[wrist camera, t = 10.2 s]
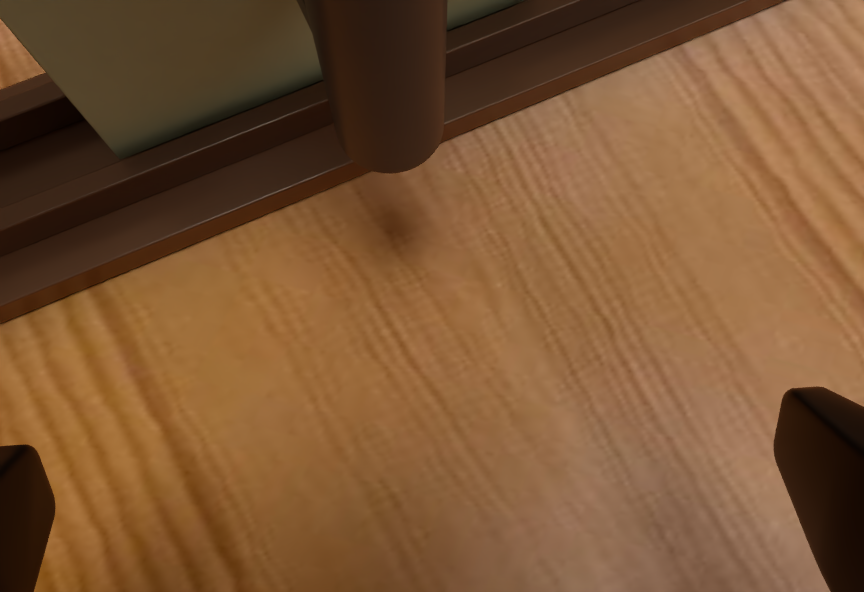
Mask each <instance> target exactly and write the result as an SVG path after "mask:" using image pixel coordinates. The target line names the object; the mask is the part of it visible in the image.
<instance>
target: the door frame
mask: <svg viewBox="0 0 864 592" xmlns="http://www.w3.org/2000/svg"><path fill="white" fill-rule="evenodd" d="M782 1H785V0H525V1H522V2H520V3H517V4H515V5H512V6H510V7H507V8H504V9H502V10H499V11H497V12H494V13H492V14H489V15H487V16H484V17H482V18H479V19H477V20H474V21H471V22H469V23H466V24H464V25H461V26H459V27H456V28H454V29H451V30H449V31H447V37H446V71H445V104H444V130H443V135H442V138H441V141H440V142H442V141H445V140H447V139H449V138H452V137H454V136H457V135H459V134H462V133H464V132H466V131H469V130H471V129H474V128H476V127H479V126H481V125H483V124H486V123H488V122H491V121H493V120H496V119H498V118H501V117H503V116H505V115H508V114H510V113H513V112H515V111H518V110H520V109H522V108H525V107H527V106H530V105H532V104H535V103H537V102H539V101H542V100H544V99H547V98H549V97H552V96H554V95H556V94H559V93H561V92H564V91H566V90H569V89H571V88H573V87H576V86H578V85H581V84H583V83H586V82H588V81H590V80H593V79H595V78H598V77H600V76H603V75H605V74H607V73H610V72H612V71H615V70H617V69H620V68H622V67H624V66H627V65H629V64H632V63H634V62H637V61H639V60H641V59H644V58H646V57H649V56H651V55H654V54H656V53H659V52H661V51H663V50H666V49H668V48H671V47H673V46H676V45H678V44H680V43H683V42H685V41H688V40H690V39H693V38H695V37H697V36H700V35H702V34H705V33H707V32H710V31H712V30H714V29H717V28H719V27H722V26H724V25H727V24H729V23H731V22H734V21H736V20H739V19H741V18H744V17H746V16H748V15H751V14H753V13H756V12H758V11H761V10H763V9H765V8H768V7H770V6H773V5H775V4H778V3H780V2H782ZM369 171H371V170H368V169H366V168H363V167H362V166H360V165H358V164H357V163H355V162H354V161H353V160H351V159H350V158H349V157H348V156H347V154H346V153H345V152H344V150H343V149H342V147H341V145H340V143H339V141H338V138H337V134H336V130H335V125H334V121H333V117H332V113H331V109H330V105H329V101H328V97H327V92H326V88H325V84H324V80H322V81H319V82H316V83H314V84H311V85H309V86H306V87H304V88H301V89H299V90H296V91H294V92H291V93H289V94H286V95H283V96H281V97H278V98H276V99H273V100H271V101H268V102H266V103H263V104H261V105H258V106H256V107H253V108H250V109H248V110H245V111H243V112H240V113H238V114H235V115H233V116H230V117H228V118H225V119H222V120H220V121H217V122H215V123H212V124H210V125H207V126H205V127H202V128H200V129H197V130H195V131H192V132H189V133H187V134H184V135H182V136H179V137H177V138H174V139H172V140H169V141H167V142H164V143H162V144H159V145H156V146H154V147H151V148H149V149H146V150H144V151H141V152H139V153H136V154H134V155H131V156H128V157H126V158H123V159H119V158H118V157H117V156H116V154H115V153H114V152H113V151H112V150H111V149H110V147H109V146H108V145H107V144H106V143H105V141H104V140H103V139H102V138H101V137H100V136H99V134H98V133H97V132H96V131H95V130H94V128H93V127H92V126H91V125H90V124H89V123H88V121H87V120H86V119H85V118H84V117H83V116H82V114H81V113H80V112H79V111H78V110H77V108H76V107H75V106H74V105H73V104H72V103H71V101H70V100H69V99H68V98H67V97H66V95H65V94H64V93H63V92H62V91H61V90H60V88H59V87H58V86H57V85H56V84H55V82H54V81H53V80H52V79H51V78H50V77H49V75H48V74H47V73H44V74H41V75H38V76H36V77H33V78H30V79H28V80H25V81H22V82H20V83H17V84H14V85H12V86H9V87H6V88H4V89H1V90H0V323H2V322H5V321H7V320H10V319H12V318H14V317H17V316H19V315H22V314H24V313H27V312H29V311H31V310H34V309H36V308H39V307H41V306H44V305H46V304H48V303H51V302H53V301H56V300H58V299H61V298H63V297H65V296H68V295H70V294H73V293H75V292H78V291H80V290H82V289H85V288H87V287H90V286H92V285H95V284H97V283H99V282H102V281H104V280H107V279H109V278H112V277H114V276H116V275H119V274H121V273H124V272H126V271H129V270H131V269H133V268H136V267H138V266H141V265H143V264H146V263H148V262H150V261H153V260H155V259H158V258H160V257H163V256H165V255H168V254H170V253H172V252H175V251H177V250H180V249H182V248H185V247H187V246H189V245H192V244H194V243H197V242H199V241H202V240H204V239H206V238H209V237H211V236H214V235H216V234H219V233H221V232H223V231H226V230H228V229H231V228H233V227H236V226H238V225H240V224H243V223H245V222H248V221H250V220H253V219H255V218H257V217H260V216H262V215H265V214H267V213H270V212H272V211H274V210H277V209H279V208H282V207H284V206H287V205H289V204H291V203H294V202H296V201H299V200H301V199H304V198H306V197H308V196H311V195H313V194H316V193H318V192H321V191H323V190H326V189H328V188H330V187H333V186H335V185H338V184H340V183H343V182H345V181H347V180H350V179H352V178H355V177H357V176H360V175H362V174H364V173H367V172H369Z"/></svg>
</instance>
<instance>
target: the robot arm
mask: <svg viewBox="0 0 864 592" xmlns="http://www.w3.org/2000/svg"><path fill="white" fill-rule="evenodd" d="M774 456H775V460H776V463H777V466H778V468H779V471H780V473H781V476H782V478H783V481H784V483H785V486H786V488H787V491H788V493H789V496H790V498H791V501H792V503H793V506H794V508H795V511H796V513H797V516H798V518H799V521H800V523H801V526H802V528H803V531H804V533H805V536H806V538H807V541H808V543H809V545H810V548H811V550H812V553H813V555H814V558H815V560H816V562H817V565H818V567H819V569H820V571H821V574H822V576H823V577H824V579H825V581H826V583H827V585H828V587H829V589H830V591H831V592H864V407H863V406H861V405H859V404H857V403H855V402H853V401H851V400H849V399H847V398H844V397H842V396H840V395H838V394H836V393H834V392H832V391H830V390H828V389H826V388H824V387H805V388H792V389H790V390H788V391H787V392H786V393H785V394H784V396H783V399H782V402H781V408H780V413H779V418H778V423H777V428H776V433H775V439H774ZM54 515H55V499H54V495H53V492H52V489H51V486H50V484H49V481H48V478H47V476H46V473H45V470H44V467H43V465H42V462H41V459H40V457H39V454H38V452H37V451H36V450H35V448H34V447H32V446H30V445H26V444H25V445H11V446H0V592H34V589H35V586H36V582H37V578H38V575H39V571H40V567H41V564H42V560H43V556H44V553H45V549H46V545H47V542H48V538H49V534H50V531H51V527H52V524H53V520H54Z"/></svg>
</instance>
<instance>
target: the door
mask: <svg viewBox="0 0 864 592" xmlns="http://www.w3.org/2000/svg"><path fill="white" fill-rule="evenodd" d="M522 1H525V0H0V19H1V20H2V21H3V22H4V23H5V25H6V26H7V27H8V28H9V29H10V30H11V32H12V33H13V34H14V35H15V36H16V38H17V39H18V40H19V41H20V42H21V43H22V45H23V46H24V47H25V48H26V49H27V51H28V52H29V53H30V54H31V55H32V56H33V58H34V59H35V60H36V61H37V62H38V64H39V65H40V66H41V67H42V68H43V69H44V71H45V72H46V73H47V74H48V75H49V77H50V78H51V79H52V80H53V81H54V82H55V84H56V85H57V86H58V87H59V88H60V90H61V91H62V92H63V93H64V94H65V95H66V97H67V98H68V99H69V100H70V101H71V103H72V104H73V105H74V106H75V107H76V108H77V110H78V111H79V112H80V113H81V114H82V116H83V117H84V118H85V119H86V120H87V121H88V123H89V124H90V125H91V126H92V127H93V128H94V130H95V131H96V132H97V133H98V134H99V136H100V137H101V138H102V139H103V140H104V141H105V143H106V144H107V145H108V146H109V147H110V149H111V150H112V151H113V152H114V153H115V154H116V156H117V157H118V158H119V159H123V158H126V157H128V156H131V155H134V154H136V153H139V152H141V151H144V150H146V149H149V148H151V147H154V146H156V145H159V144H162V143H164V142H167V141H169V140H172V139H174V138H177V137H179V136H182V135H184V134H187V133H189V132H192V131H195V130H197V129H200V128H202V127H205V126H207V125H210V124H212V123H215V122H217V121H220V120H222V119H225V118H228V117H230V116H233V115H235V114H238V113H240V112H243V111H245V110H248V109H250V108H253V107H256V106H258V105H261V104H263V103H266V102H268V101H271V100H273V99H276V98H278V97H281V96H283V95H286V94H289V93H291V92H294V91H296V90H299V89H301V88H304V87H306V86H309V85H311V84H314V83H316V82H319V81H322V80H324V84H325V88H326V92H327V97H328V101H329V105H330V109H331V113H332V117H333V121H334V125H335V130H336V134H337V138H338V141H339V143H340V145H341V147H342V149H343V150H344V152H345V153H346V154H347V156H348V157H349V158H350V159H351V160H353V161H354V162H355V163H357V164H358V165H360V166H362V167H363V168H366V169H368V170H371V171H375V172H379V173H399V172H404V171H407V170H410V169H413V168H415V167H417V166H419V165H420V164H422V163H423V162H425V161H426V160H427V159H428V158H429V157H430V156H431V155H432V154H433V153H434V152H435V150H436V149H437V147H438V145H439V143H440V141H441V138H442V135H443V130H444V104H445V71H446V37H447V31H449V30H451V29H454V28H456V27H459V26H461V25H464V24H466V23H469V22H471V21H474V20H477V19H479V18H482V17H484V16H487V15H489V14H492V13H494V12H497V11H499V10H502V9H504V8H507V7H510V6H512V5H515V4H517V3H520V2H522Z"/></svg>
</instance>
